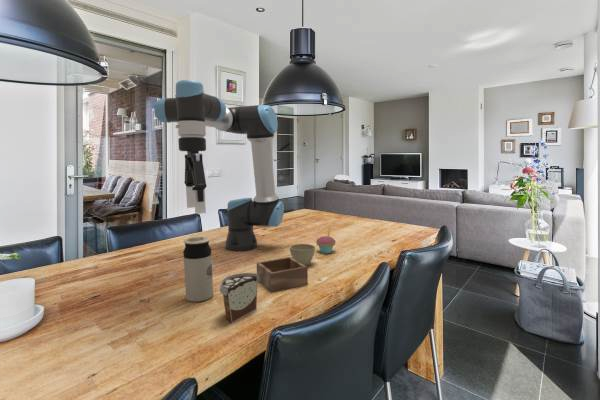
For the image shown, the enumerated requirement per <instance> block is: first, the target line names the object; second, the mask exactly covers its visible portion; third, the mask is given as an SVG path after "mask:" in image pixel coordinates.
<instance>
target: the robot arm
mask: <svg viewBox="0 0 600 400" xmlns="http://www.w3.org/2000/svg"><path fill="white" fill-rule="evenodd" d="M174 96H175V97H164V98H158V99H157V100H155V102H154V105H153V110H154V111H153V112H154V115H155V118H156V119H157V120H158V121H159V122H162V123H169V124H171V123H177V124H175V129H178V130H177V135H178V136H179V138H178V139H177V140H178V151H180V152H186V153H187V154H184V180H183V182H184V184H185V194H186V207H187V209H189V208H191V209H192V208H194V212H195V215H198V214H206V212H207V211H206V210H207V209H206V192H205V191H206V188H207V182H206V175H205V168H204V163H203V154H202V153H200V152H205V151H206V150H207V140H206V138H205V137H206V135H207V133H206V127H209V128H215V129H216V130H217V131H220V132H226V133H232V134H238V135H246V139H247V140H248V141H249V142H250V146H251V157H252V166H253V176H254V177H253V178H254V185H255V186H254V187H255V194H256V195H255V196H254V197H253V198H252V197H244V198H243V197H242V198H237V199H232V200H229V201H228V202H227V210H226V211H227V225H228V226H227V227H228V228H227V229H228V233H227V236H226V239H225V243H224V245H225V246H224V248H225V249H226V250H229V251H233V252H234V251H235V252H236V251H238V252H239V251H241V252H243V251H250V250H253V249H256V248H257V247H258V241H257V236H256V234H255V232H254V227H267V228H271V227H272V228H273V227H274V228H275V227H278V226H280V225H281V223H282V221H283V217H284V214H285V205H284V202H283V201H281V200H280V199H279V198H280V197H279V195H277V194H276V191H275V190H276V188H275V186H276V185H275V179H274V177H275V176H274V175H275V174H274V164H273V162H274V161H273V151H272V140H273V139H274V137H275V135H274V134H275V133H277V131H278V126H279V124H278V116H277V114H276V111H275V109H274V108H273V107H272V106H271V105H268V104H258V105H245V106H244V105H243V106H242V105H241V106H233V107H231V106H230V107H227V106H226V103H225V102H224V101H223V100H222V99H221V98H218V96H215V95H214V96H213V95H210V94H208V93H205V90H204V85H203V83H202V82H200V81H198V80H192V79H183V80H178V81H177V82H176V83H175V95H174Z"/></svg>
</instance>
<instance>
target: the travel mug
mask: <svg viewBox="0 0 600 400" xmlns="http://www.w3.org/2000/svg"><path fill="white" fill-rule="evenodd" d="M210 240H211V239H210V237H207V236H193V237H188V238H186V239H184V240H183V244H185V245H184V246H185V247H184V249H183V266H184V267H183V268H184V282H185V298H186V300H187V301H189V302H193V303H194V302H195V303H198V302H205V301H207V300H209V299H211V298H212V297H213V296H214V284H213V283H214V280H213V264H212V263H213V262H212V261H213V260H212V259H213V258H212V249H211V246H210V244H209V243H210Z"/></svg>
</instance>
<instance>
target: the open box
mask: <svg viewBox="0 0 600 400" xmlns="http://www.w3.org/2000/svg"><path fill="white" fill-rule="evenodd" d="M308 270H309V269H308V265H307V266H305V265H303V264H301V263H300V262H298V261H296V260H295V259H293V258H292V256H289V257H283V258H282V257H281V258H276V259H275V258H274V259H271V260H264V261H258V262H256V274H258V276H259V281H258V282H260V283H261V284H262V285H263V286H264V287H265V288H266V289H267V290H268V291H270V292H271V293H274V292H279V291H284V290H287V289H292V288H298V287H302V286H308V283H309V281H308V280H309V279H308V276H309V274H308Z"/></svg>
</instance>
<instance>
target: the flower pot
mask: <svg viewBox="0 0 600 400" xmlns="http://www.w3.org/2000/svg"><path fill="white" fill-rule="evenodd" d="M289 251H290V254H291V258H293V259H295V260H296V261H298V262H300V263H301V264H303V265H305V266H307V267H308V266H309V265H310V264H311V262H312V260H313V257H314V255H315V251H316V246H315V245H314V244H310V243H296V244H292V245H290V246H289Z"/></svg>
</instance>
